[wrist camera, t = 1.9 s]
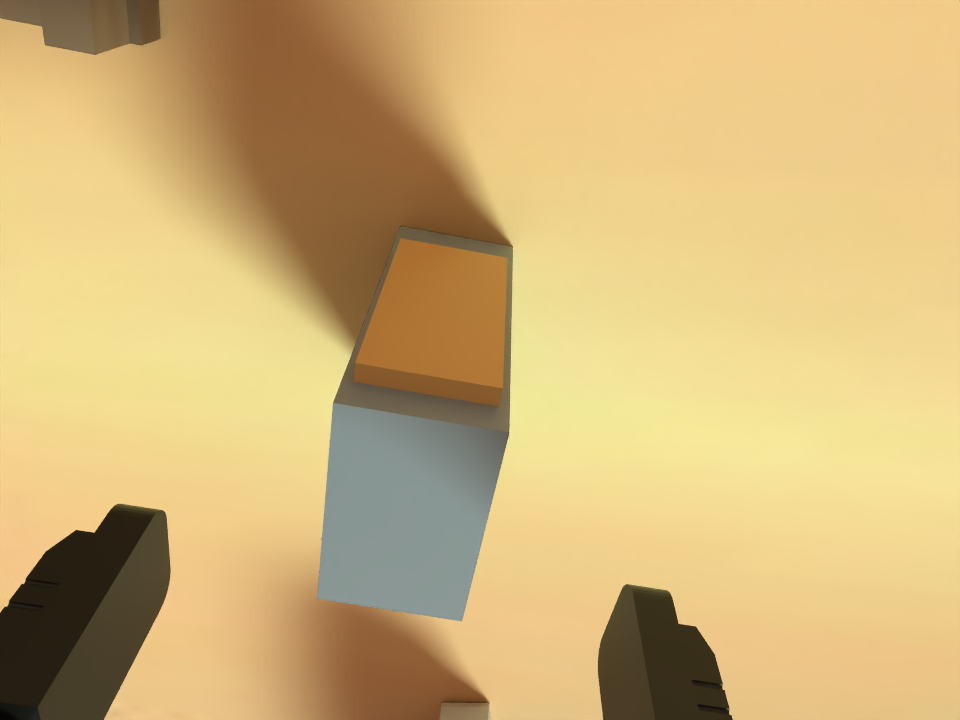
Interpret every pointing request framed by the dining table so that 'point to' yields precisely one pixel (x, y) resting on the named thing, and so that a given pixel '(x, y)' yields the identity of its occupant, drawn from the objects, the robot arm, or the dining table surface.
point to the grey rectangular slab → (465, 711)
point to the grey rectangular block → (420, 429)
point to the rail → (88, 22)
